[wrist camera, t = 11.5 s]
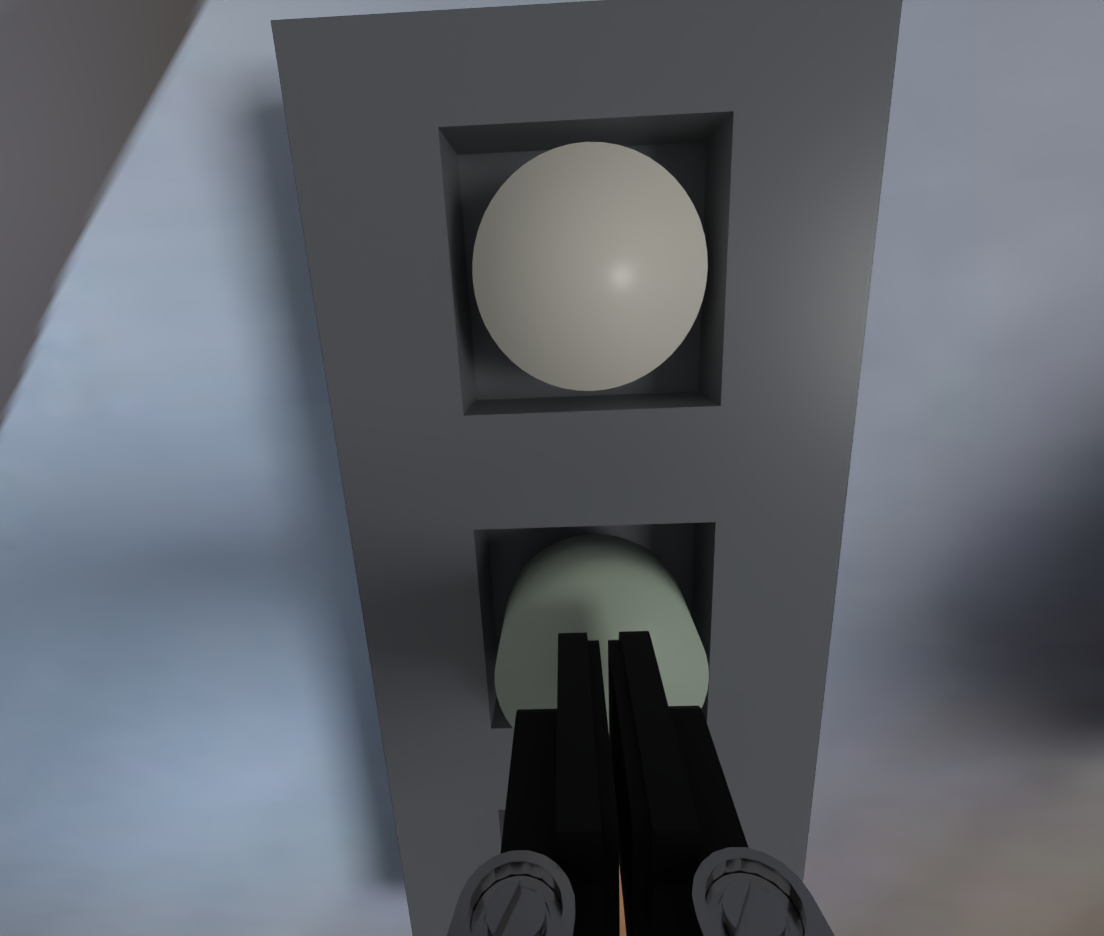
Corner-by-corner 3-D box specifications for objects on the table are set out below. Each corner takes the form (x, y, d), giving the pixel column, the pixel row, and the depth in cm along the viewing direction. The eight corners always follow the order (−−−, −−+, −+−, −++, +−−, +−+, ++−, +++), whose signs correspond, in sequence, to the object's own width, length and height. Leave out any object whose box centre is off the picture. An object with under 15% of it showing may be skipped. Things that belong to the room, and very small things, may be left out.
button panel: (751, 879, 20) (789, 995, 17) (445, 883, 20) (422, 998, 17) (815, 66, 13) (903, -18, 10) (344, 92, 13) (270, 20, 10)
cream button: (678, 371, 13) (703, 386, 11) (496, 379, 14) (481, 395, 11) (682, 168, 12) (712, 135, 10) (482, 178, 12) (462, 148, 10)
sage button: (681, 688, 14) (705, 765, 12) (511, 692, 15) (501, 769, 12) (686, 531, 13) (713, 581, 11) (500, 537, 13) (486, 588, 11)
